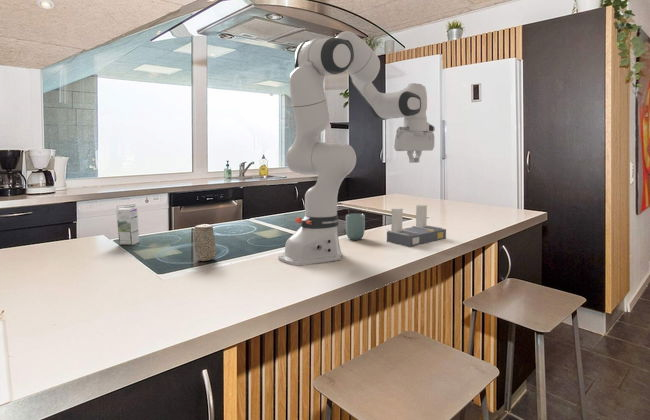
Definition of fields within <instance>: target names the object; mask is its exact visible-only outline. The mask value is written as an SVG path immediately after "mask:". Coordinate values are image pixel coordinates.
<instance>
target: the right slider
mask: <svg viewBox="0 0 650 420" xmlns="http://www.w3.org/2000/svg"><path fill="white" fill-rule="evenodd" d="M427 209H428V205H427V204H416V210H415V211H416V212H415V213H416V214H415V217H416V218H415V226H417V227H426V225H427V220H428V219H427V218H428V217H427V216H428V210H427Z"/></svg>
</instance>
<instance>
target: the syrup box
mask: <svg viewBox="0 0 650 420" xmlns="http://www.w3.org/2000/svg"><path fill="white" fill-rule="evenodd" d="M115 209H116V210H115V212H116V220H117V221H116V223H117V232H118V245H121V246H122V245H123V246H133V245H136V244H138V243H140V233H139V231H140V230H139V218H138V207H137V206H136V207H135V206H134V207H130V206H129V207H127V206H125V207H124V206H123V207H119V208H115Z"/></svg>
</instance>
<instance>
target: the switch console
mask: <svg viewBox="0 0 650 420" xmlns="http://www.w3.org/2000/svg"><path fill="white" fill-rule="evenodd" d="M446 239H447V229H446V228H442V227H438V226H432V225H428V224H426V227H417V226H416V225H412V226H411V227H407V228H405V227H404V228H402V231H400V232H394V231H391V230H387V231H386V243H391V244H395V245H400V246H404V247H409V248H412V247H417V246H419V245H420V246H421V245H425V244H430V243H434V242H438V240H439V241H441V240H442V241H443V240H446Z"/></svg>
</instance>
